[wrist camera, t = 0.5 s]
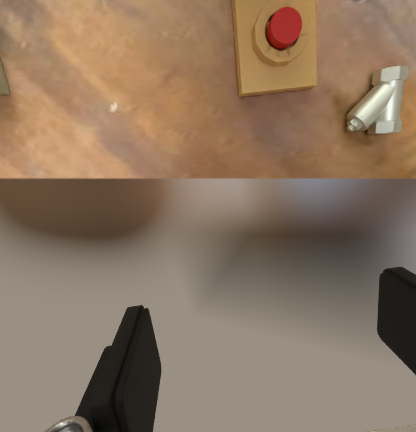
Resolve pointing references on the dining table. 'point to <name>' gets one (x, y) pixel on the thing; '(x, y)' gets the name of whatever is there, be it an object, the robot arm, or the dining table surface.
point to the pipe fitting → (380, 103)
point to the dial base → (3, 82)
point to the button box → (273, 48)
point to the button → (284, 27)
